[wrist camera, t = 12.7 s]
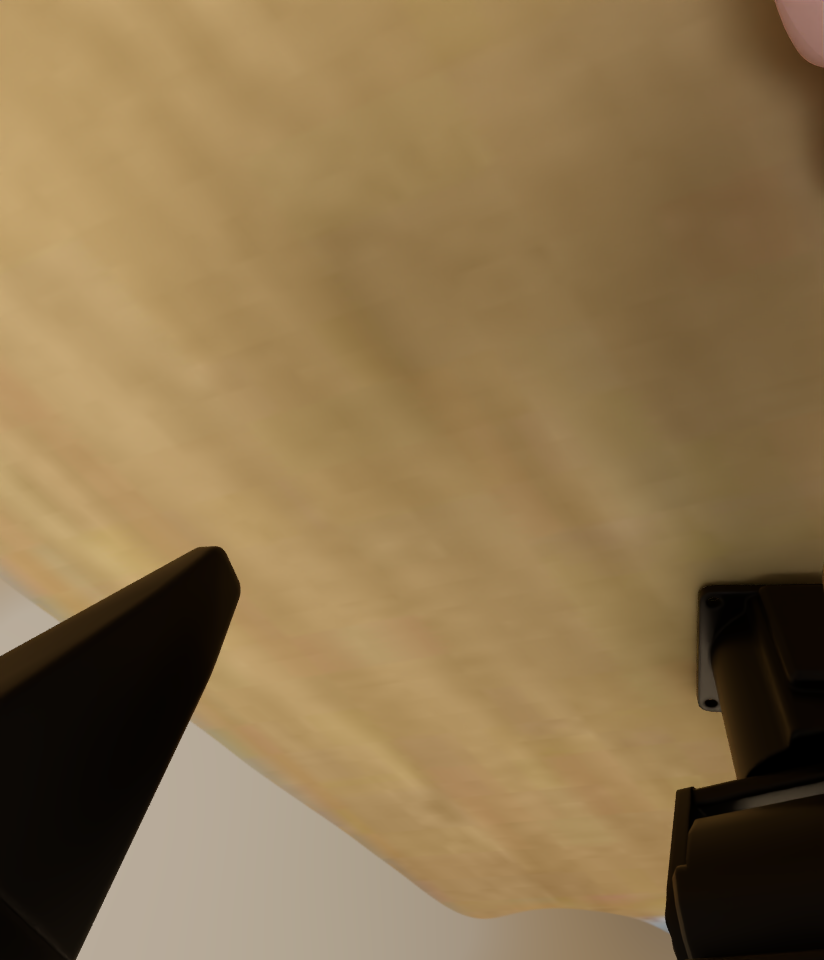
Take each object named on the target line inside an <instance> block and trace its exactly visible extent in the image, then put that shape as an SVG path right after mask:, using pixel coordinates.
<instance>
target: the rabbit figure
mask: <svg viewBox="0 0 824 960" xmlns="http://www.w3.org/2000/svg"><path fill="white" fill-rule="evenodd" d="M774 1H775V4H776V7H777V10H778V13H779V15H780V18H781V20H782V23H783V26H784V28H785V30H786V32H787V34H788V36H789V38H790V40H791V41H792V43H793V45H794V46H795V48H796V50H797V51H798V52H799V54H800V55H801V56H802V57H803V58H804V59H805V60H807V61H808V62H809V63H811V64H813V65H816V66H819V67H823V68H824V0H774Z"/></svg>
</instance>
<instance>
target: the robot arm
mask: <svg viewBox="0 0 824 960" xmlns="http://www.w3.org/2000/svg"><path fill="white" fill-rule="evenodd" d="M822 581H823V584H777V585H711V586H706V587H704V588H702V589H701V590H700V591H699V593H698V618H697V700H698V704H699V706H700V707H701V708H702V709H704V710H706V711H711V712H722V716H723V720H724V724H725V729H726V733H727V738H728V742H729V746H730V751H731V755H732V760H733V764H734V768H735V773H736V777H737V780H733V781H729V782H724V783H720V784H716V785H711V786H707V787H702V788H698V789H695V788H694V787H689V788H684V789H680V790H677V792H676V801H675V811H674V821H673V831H672V841H671V850H670V860H669V870H668V880H667V896H666V910H665V920H666V925H667V928H668V931H669V933H670V935H671V938H672V944H673V949H674V952H675V955H676V957H677V960H824V566H823V574H822ZM239 597H240V583H239V580H238V578H237V576H236V574H235V572H234V569H233V567H232V565H231V563H230V561H229V558H228V556H227V554H226V552H225V551H224V550H223V549H222V548H220V547H218V546H211V547H198V548H196V549H194V550H192V551H190V552H188V553H186V554H185V555H183V556H181V557H179V558H177V559H175V560H174V561H172V562H170V563H168V564H166V565H165V566H163V567H161V568H159V569H157V570H156V571H154V572H152V573H150V574H148V575H147V576H145V577H143V578H141V579H139V580H137V581H136V582H134V583H132V584H130V585H128V586H127V587H125V588H123V589H121V590H119V591H118V592H116V593H114V594H112V595H110V596H108V597H107V598H105V599H103V600H101V601H99V602H98V603H96V604H94V605H92V606H90V607H89V608H87V609H85V610H83V611H81V612H80V613H78V614H76V615H74V616H72V617H70V618H69V619H67V620H65V621H63V622H61V623H60V624H58V625H56V626H54V627H52V628H51V629H49V630H47V631H46V632H43V633H42V634H40V635H38V636H36V637H34V638H32V639H31V640H29V641H27V642H25V643H24V644H22V645H20V646H18V647H16V648H14V649H13V650H11V651H9V652H7V653H5V654H4V655H2V656H0V960H76V958H77V956H78V954H79V952H80V950H81V948H82V946H83V943H84V941H85V939H86V937H87V935H88V933H89V931H90V929H91V926H92V924H93V922H94V920H95V918H96V916H97V914H98V912H99V910H100V908H101V906H102V904H103V901H104V899H105V897H106V895H107V893H108V891H109V889H110V887H111V884H112V882H113V880H114V878H115V876H116V874H117V872H118V870H119V868H120V866H121V864H122V861H123V859H124V857H125V855H126V853H127V851H128V849H129V847H130V845H131V843H132V840H133V838H134V836H135V834H136V832H137V830H138V828H139V826H140V824H141V822H142V819H143V817H144V815H145V813H146V811H147V809H148V807H149V805H150V803H151V801H152V798H153V796H154V794H155V792H156V790H157V788H158V786H159V784H160V782H161V779H162V777H163V775H164V773H165V771H166V769H167V767H168V765H169V763H170V761H171V759H172V756H173V754H174V752H175V750H176V748H177V746H178V744H179V742H180V739H181V738H182V735H183V733H184V731H185V729H186V727H187V725H188V723H189V721H190V719H191V717H192V714H193V712H194V710H195V708H196V706H197V704H198V702H199V700H200V698H201V696H202V693H203V691H204V689H205V687H206V685H207V683H208V680H209V678H210V676H211V674H212V671H213V669H214V666H215V663H216V661H217V658H218V655H219V653H220V650H221V647H222V644H223V642H224V639H225V636H226V633H227V631H228V628H229V625H230V622H231V619H232V617H233V614H234V611H235V608H236V606H237V603H238V600H239ZM714 597H715V598H718V599H717V600H713V601H711V600H709V599H710V598H714ZM709 699H712V700H709Z"/></svg>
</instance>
